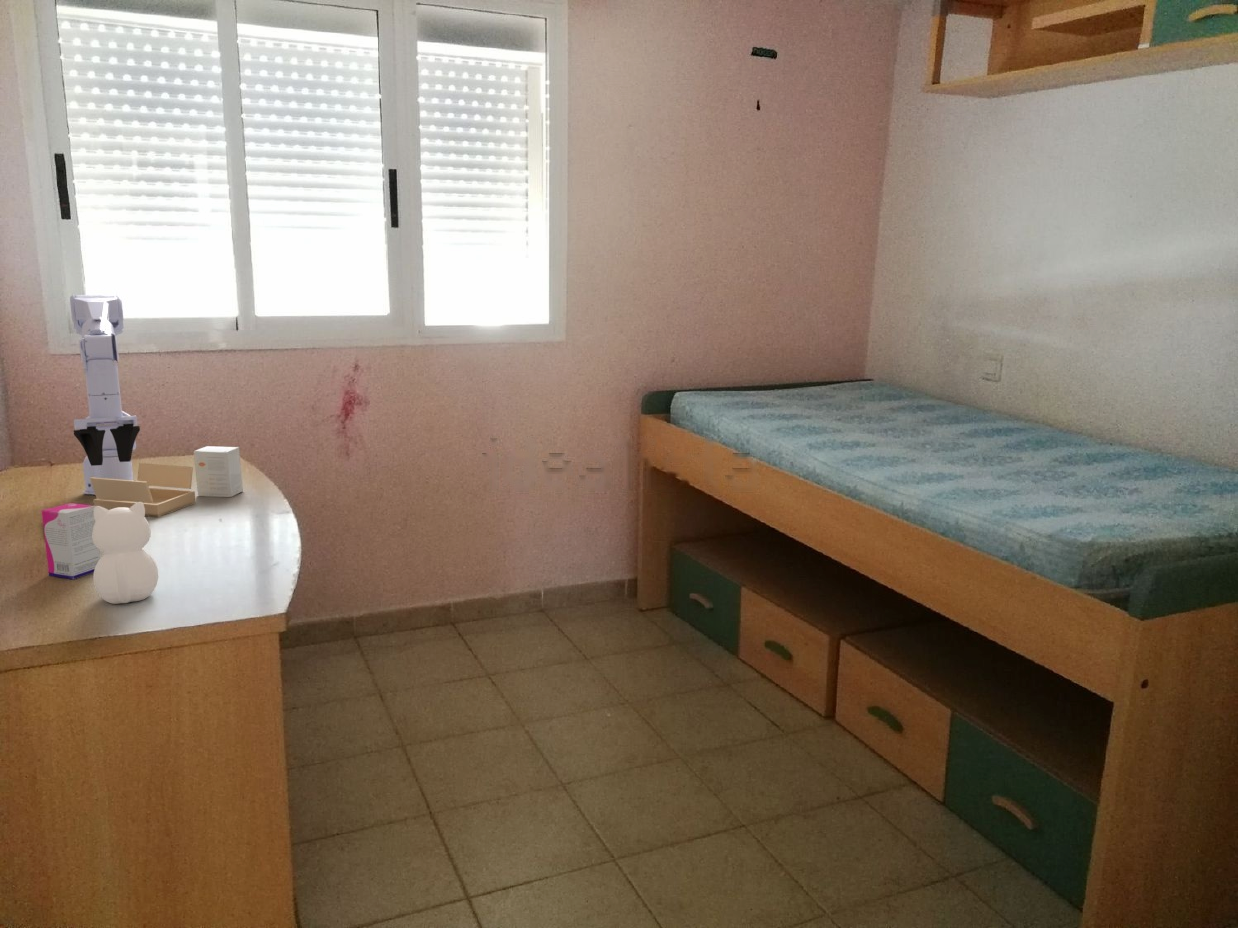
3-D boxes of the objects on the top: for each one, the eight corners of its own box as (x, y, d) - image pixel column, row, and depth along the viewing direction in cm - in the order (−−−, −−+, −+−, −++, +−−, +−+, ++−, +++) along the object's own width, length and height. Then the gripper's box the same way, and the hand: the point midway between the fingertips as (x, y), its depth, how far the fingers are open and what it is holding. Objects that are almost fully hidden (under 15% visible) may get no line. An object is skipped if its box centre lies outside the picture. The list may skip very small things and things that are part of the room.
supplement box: (103, 569, 155) (96, 505, 153) (73, 580, 150) (65, 513, 147) (78, 564, 157) (70, 501, 155) (47, 575, 152) (38, 510, 149)
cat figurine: (158, 582, 150) (149, 495, 147) (162, 606, 139) (152, 512, 136) (96, 591, 146) (86, 501, 143) (95, 616, 135) (83, 520, 132)
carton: (94, 511, 189) (93, 499, 188) (135, 497, 200) (134, 486, 200) (158, 517, 186) (157, 505, 185) (195, 502, 197) (194, 491, 197)
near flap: (98, 497, 188) (96, 498, 188) (91, 477, 186) (89, 478, 186) (153, 501, 186) (152, 502, 185) (147, 481, 184) (145, 482, 183)
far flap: (138, 463, 199) (140, 463, 200) (136, 484, 199) (138, 484, 200) (191, 466, 197) (192, 466, 197) (189, 488, 197) (191, 488, 197)
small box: (243, 491, 207) (240, 446, 205) (231, 497, 202) (227, 451, 200) (210, 490, 208) (206, 445, 206) (197, 496, 203) (193, 450, 200)
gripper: (93, 395, 171) (100, 466, 172) (147, 393, 185) (154, 459, 187) (61, 397, 173) (69, 467, 174) (117, 395, 187) (124, 460, 188)
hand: (111, 463), depth 180 cm, fingers open, 7 cm apart
